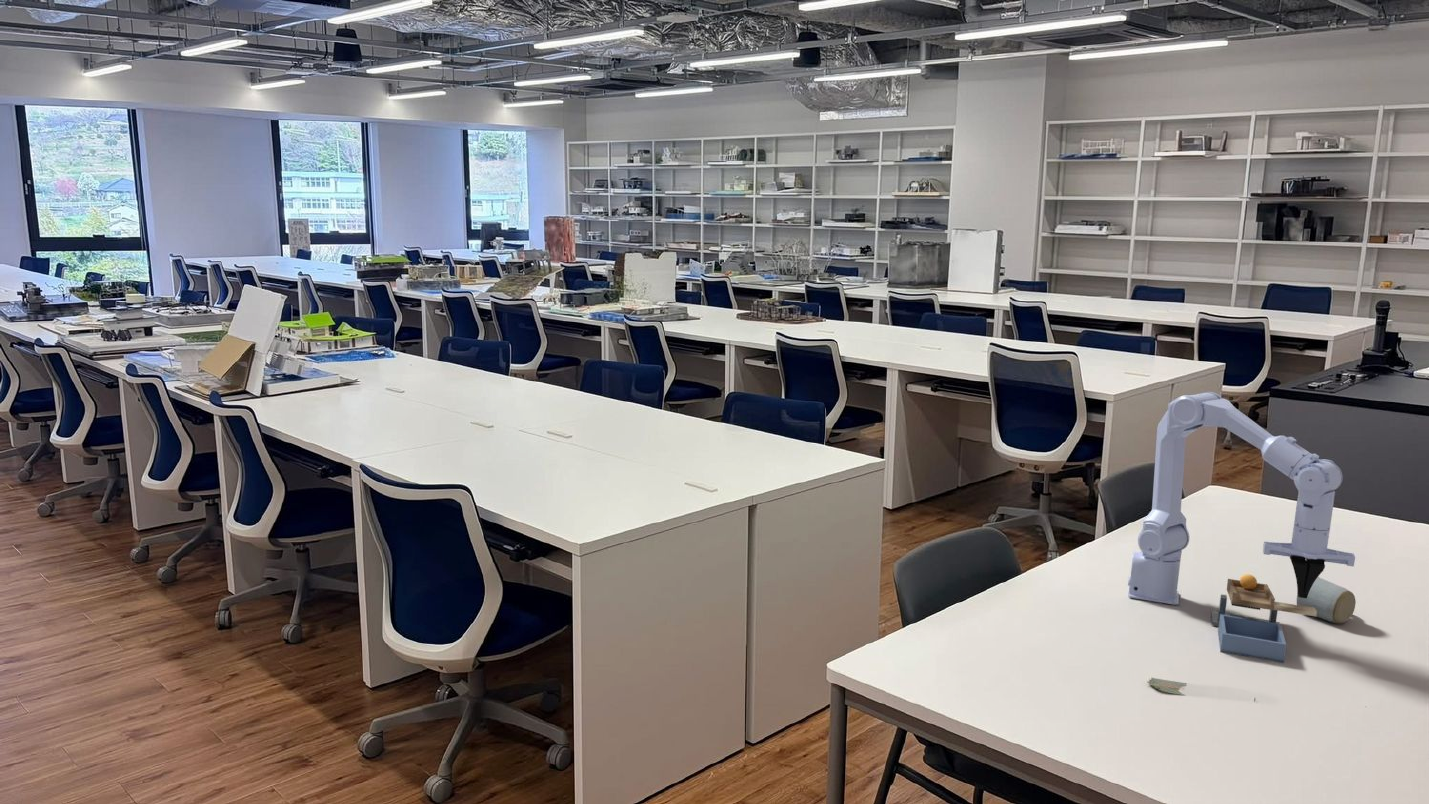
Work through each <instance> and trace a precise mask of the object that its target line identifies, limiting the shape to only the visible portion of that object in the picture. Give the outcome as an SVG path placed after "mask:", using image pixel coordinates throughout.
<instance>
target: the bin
mask: <svg viewBox="0 0 1429 804" xmlns="http://www.w3.org/2000/svg"><path fill="white" fill-rule="evenodd" d="M1217 635H1218V643H1219V650H1220V651H1219V652H1220V653H1226V654H1231V655H1237V656H1243V657H1249V658H1254V659H1260V660H1266V661H1271V662H1276V663H1285V656H1286V648H1287V643H1286V640H1285V636H1284V632H1283V628H1282V625H1281V623H1280V624H1278V623H1271V622H1265V621H1259V620H1253V619H1247V618H1241V617H1234V616H1228V615H1222V614H1220V619H1219V627H1217Z"/></svg>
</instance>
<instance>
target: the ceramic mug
mask: <svg viewBox="0 0 1429 804" xmlns="http://www.w3.org/2000/svg"><path fill="white" fill-rule="evenodd" d="M1356 601H1357V600H1356V597H1355V595H1354V593H1353V592H1352V591H1351V590H1348V589H1347V588H1346V587H1343V586H1340V585H1338V584H1336V583H1334V582H1331V581H1328V580H1326V579H1324V578H1321V577H1319V576H1318V577H1317V579H1316V580H1315V582H1314V583H1313V585H1312V587H1311V589H1310V591H1309V593H1308V596H1307V598H1300V597H1298V595H1297V594H1296V605H1300V606H1306V607H1313V608H1315V609H1316V611H1317V615H1316V616H1315V617H1316V618H1320V619H1322V620H1324V621H1328V622H1330V623H1332V624H1333V623H1334V624H1339V625H1340V624H1344V623H1345V622H1347V621H1349V619H1350V618H1351V617H1352V616H1353V614H1354V612H1355V608H1356Z"/></svg>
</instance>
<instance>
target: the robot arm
mask: <svg viewBox="0 0 1429 804" xmlns="http://www.w3.org/2000/svg"><path fill="white" fill-rule="evenodd" d="M1201 427H1206V428H1207V427H1208V428H1209V427H1210V428H1224V429H1226V430H1227V431H1229V432H1231V433H1232V434H1234V435H1236V436H1238V437H1239V438H1241V439H1242V440H1244V441H1246V442H1247V443H1249V444H1250V445H1252V446H1253V447H1255V448H1257V449H1258V450H1260V452H1261V457H1262V460H1263V461H1264V462H1266V463H1268V464H1269V465H1270V466H1272V467H1274V468H1275V469H1277V470H1278V471H1279V472H1280V473H1282V474H1284V475H1285V476H1287V478H1289V479H1291V480H1292V481H1293V483H1294V486H1295V488H1296V490H1297V491H1298V495H1297V500H1296V508H1295V513H1294V514H1295V515H1294V521H1293V522H1294V523H1293V528H1292V536H1291V542H1290V543H1289V542H1272V541H1271V542H1270V541H1263V546H1262V553H1263V555H1268V556H1270V555H1274V556H1282V557H1288V558H1289V559H1290V562H1291V564H1292V568H1293V572H1294V575H1295V579H1296V587H1297V589H1296V591H1297V594H1296V596H1297V595H1298V597H1300V598H1307V596H1308V593H1309V591H1310V589H1311V587H1312V585H1313V583H1314V582H1315V580H1316V579H1317V577H1319V576H1320V574H1322V573H1323V572H1324V570H1325V568H1326V564H1325V562H1326V563H1332V564H1339V565H1346V566H1347V567H1354V566H1355V559H1356V556H1355V554H1354V552H1353V553H1351V552H1347V551H1346V552H1345V551H1341V550H1337V549H1336V550H1335V549H1333V548H1328V545H1329V538H1330V531H1331V523H1332V517H1333V509H1334V501H1335V496H1336V491H1335V490H1337V489H1338V488H1339V487H1340V486H1341V485H1342V483H1343V473H1342V470H1341V468H1340V467H1339V466H1338V465H1337V464H1336V463H1335V462H1334V461H1333V460H1331V459H1320V455H1318V454H1316V453H1312V452H1309V451H1308V450H1306V449H1305V448H1303V447H1302V446H1300V445H1299V444H1298V443H1297V439H1295V437H1293V436H1285V435H1278V436H1277V435H1276V436H1274V435H1272V434H1271V433H1270V432H1269V431H1267V430H1266V429H1264V428H1263V427H1262V426H1260V425H1259V424H1258V423H1256V422H1255V421H1254V420H1252V419H1251V418H1250V417H1249V416H1247V415H1246V414H1244V413H1243V412H1242V411H1240V410H1239V409H1237V408H1236V407H1235V406H1234V405H1233V404H1232V402H1231V401H1229V400H1228V399H1225V398H1222V397H1221V396H1220V394H1218V393H1216V392H1212V391H1204V392H1202V393H1197V394H1191V395H1181V396H1179V397H1177V398H1175V399H1174V400H1172V401H1171V402H1169V403H1168V405H1167V410H1166V412H1165V413H1164V415H1163V416H1162V418H1161V420H1160V421H1159V422H1158V425H1157V428H1156V429H1157V430H1156V445H1155V456H1154V457H1155V459H1154V475H1153V486H1152V487H1153V489H1152V505H1151V511H1149V513H1148V514H1147V515H1146V517H1145V518H1144V519H1143V522H1142V523H1143V524H1142V529H1141V531H1140V533H1139V534H1138V537H1137V544H1138V545H1137V546H1138V548H1139V549H1140V551H1141V552H1140V551H1133V552H1132V561H1131V568H1130V576H1129V577H1128V579H1127V580H1128V581H1127V582H1128V583H1127V586H1129V588H1128V589H1129V590H1128V598H1132V599H1136V600H1137V599H1138V600H1142V601H1149V602H1154V603H1155V602H1156V603H1163V604H1167V605H1168V604H1169V605H1175V606H1178V605H1179V603H1180V602H1179V591H1178V587H1179V586H1178V584H1179V578H1180V577H1179V576H1180V567H1181V562H1182V561H1181V559H1182V551H1183V550H1185V549H1186V548H1187V547H1188V545H1189V543H1190V533H1189V531H1188V527H1187V518H1186V516H1185V515H1184V514H1183V512H1182V499H1183V498H1182V497H1183V483H1184V473H1185V472H1184V471H1185V470H1184V469H1185V457H1186V456H1185V455H1186V454H1185V453H1186V442H1187V437H1188V436H1189V435H1191V434H1193V432H1195V431H1196V430H1199V428H1201Z"/></svg>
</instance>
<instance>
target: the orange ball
mask: <svg viewBox="0 0 1429 804" xmlns="http://www.w3.org/2000/svg"><path fill="white" fill-rule="evenodd" d="M1239 580H1240V584H1241V586H1242V587H1243V588H1245V589H1247V590H1251V589H1254V588H1255V587H1256V585H1257V583H1258V580H1257V578H1256V577H1255V576H1254V575H1252V574H1248V573H1247V574H1243V575H1242V576H1241V577H1240V579H1239Z"/></svg>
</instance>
